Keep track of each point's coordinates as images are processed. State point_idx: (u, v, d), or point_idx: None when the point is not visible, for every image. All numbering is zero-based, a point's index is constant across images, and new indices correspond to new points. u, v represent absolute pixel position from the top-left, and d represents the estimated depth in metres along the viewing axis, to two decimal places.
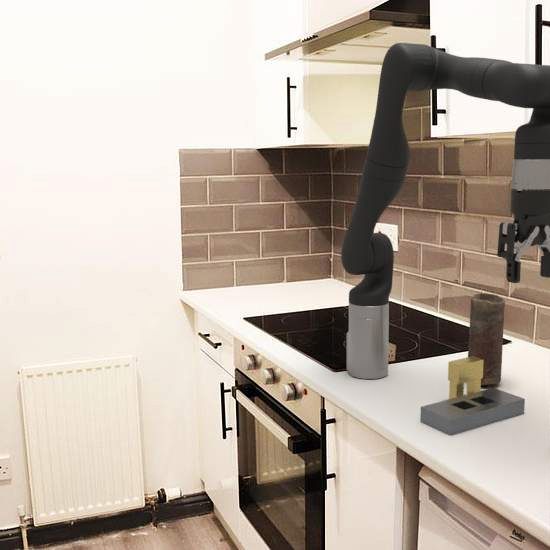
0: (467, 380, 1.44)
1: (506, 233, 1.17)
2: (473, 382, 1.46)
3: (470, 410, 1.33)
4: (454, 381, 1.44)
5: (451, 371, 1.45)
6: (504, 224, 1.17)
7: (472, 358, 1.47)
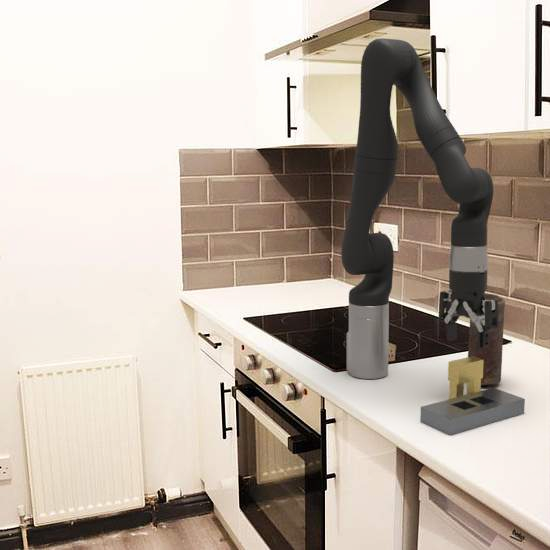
0: (467, 380, 1.44)
1: (494, 309, 1.37)
2: (473, 382, 1.46)
3: (470, 410, 1.33)
4: (454, 381, 1.44)
5: (451, 371, 1.45)
6: (492, 302, 1.37)
7: (472, 358, 1.47)
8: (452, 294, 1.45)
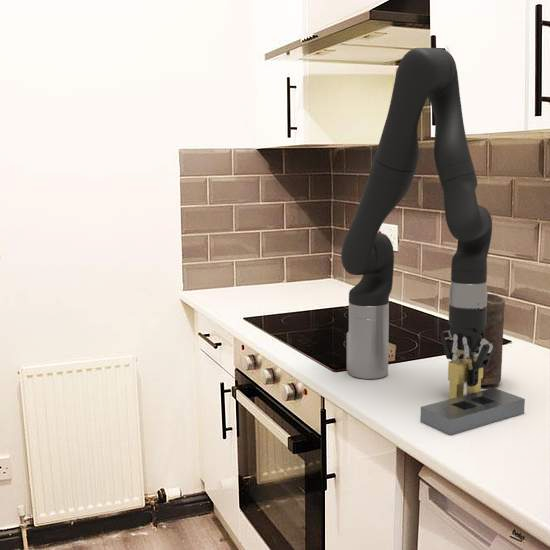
0: None
1: (490, 352, 1.40)
2: None
3: (470, 410, 1.33)
4: (454, 381, 1.44)
5: (451, 371, 1.45)
6: (490, 347, 1.39)
7: None
8: (451, 329, 1.47)
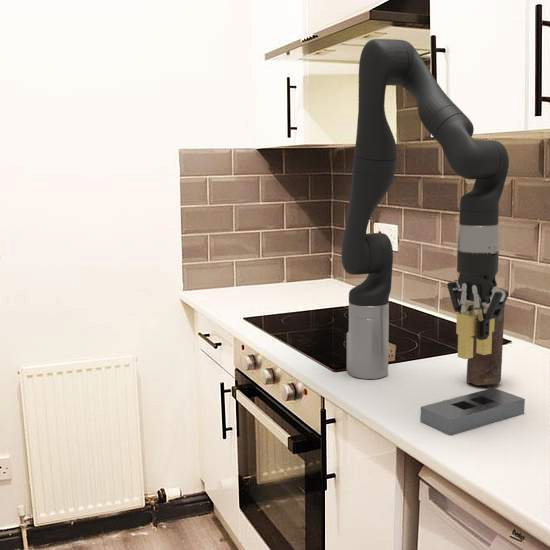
0: None
1: (502, 301, 1.28)
2: None
3: (470, 410, 1.33)
4: (463, 334, 1.32)
5: (460, 323, 1.33)
6: (502, 294, 1.27)
7: None
8: (459, 278, 1.35)
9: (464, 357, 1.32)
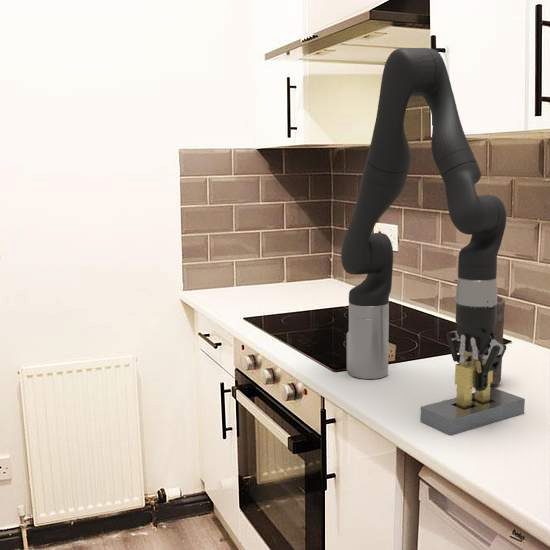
0: None
1: (500, 354, 1.30)
2: None
3: (470, 410, 1.33)
4: (462, 385, 1.34)
5: (458, 374, 1.34)
6: (501, 348, 1.29)
7: None
8: (458, 329, 1.37)
9: (463, 408, 1.34)
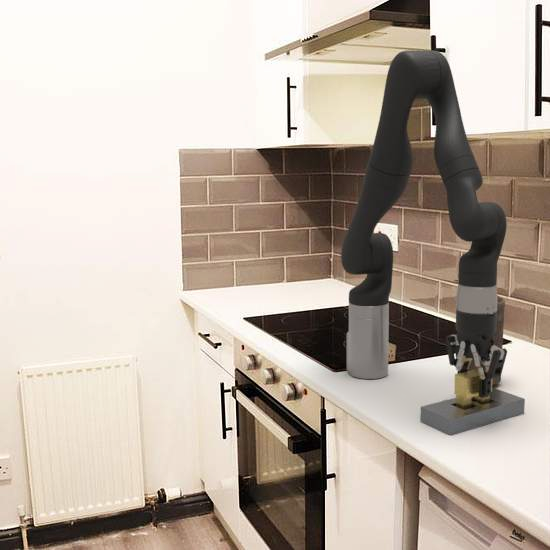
0: (475, 394, 1.35)
1: (502, 359, 1.30)
2: None
3: (470, 410, 1.33)
4: (461, 395, 1.34)
5: (458, 384, 1.35)
6: (501, 352, 1.29)
7: None
8: (458, 335, 1.37)
9: None
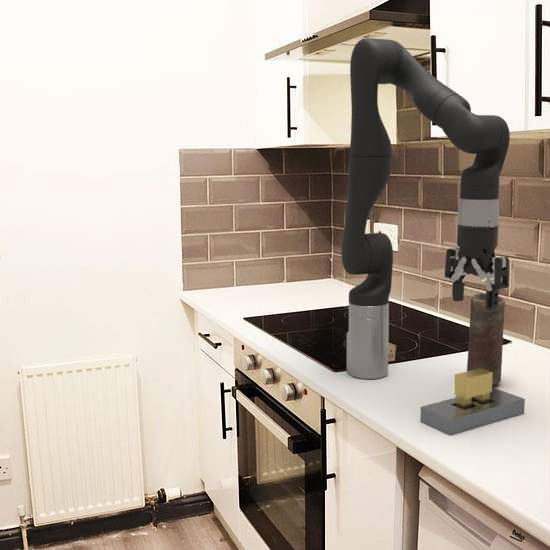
0: (475, 394, 1.35)
1: (505, 266, 1.29)
2: (481, 396, 1.37)
3: (470, 410, 1.33)
4: (461, 395, 1.34)
5: (458, 384, 1.35)
6: (503, 259, 1.28)
7: (480, 370, 1.37)
8: (460, 251, 1.36)
9: None
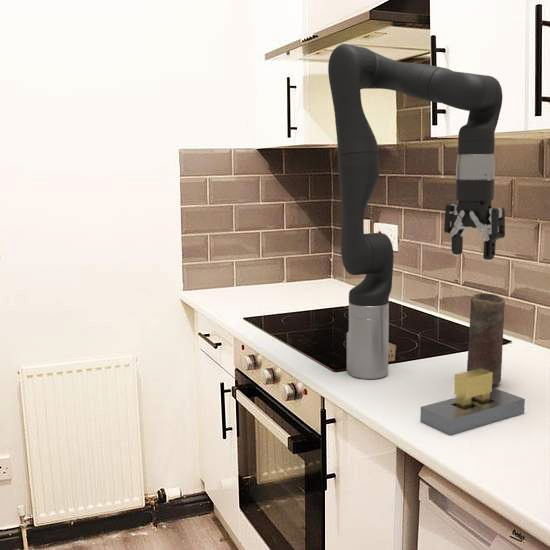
0: (475, 394, 1.35)
1: (501, 216, 1.36)
2: (481, 396, 1.37)
3: (470, 410, 1.33)
4: (461, 395, 1.34)
5: (458, 384, 1.35)
6: (499, 209, 1.36)
7: (480, 370, 1.37)
8: (458, 206, 1.44)
9: None
